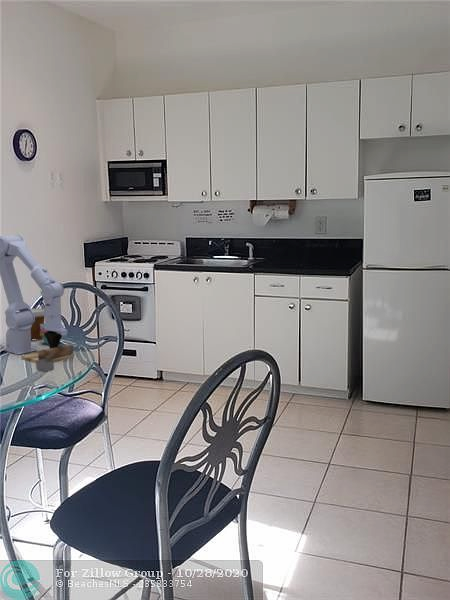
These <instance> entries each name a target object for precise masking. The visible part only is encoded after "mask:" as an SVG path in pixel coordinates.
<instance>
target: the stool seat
mask: <svg viewBox="0 0 450 600" xmlns="http://www.w3.org/2000/svg"><path fill="white" fill-rule="evenodd" d="M74 356H75V355H74V353H72V354H68V355H64V356H59V357H55V358H51V359H48V360H52V361H54V363H56V362H60V361H63V360H64V361H65V360H67V359H72V358H74ZM21 359H22V360H24V361H28V362H31V363H34V364H36V360H39V359H38V351H35V352H30V353H26V354H21Z"/></svg>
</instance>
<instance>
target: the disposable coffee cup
mask: <svg viewBox="0 0 450 600" xmlns="http://www.w3.org/2000/svg"><path fill="white" fill-rule="evenodd" d="M31 310H32V312H33V313H34V316H35V321H34V323H33V324H32V327H31V339H38V340H37V341H40V340H39V339H41V340H43V338H42V337H41V336H40V330H41V329H40V324H44V323H45V308H38V307H37V308H31Z"/></svg>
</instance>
